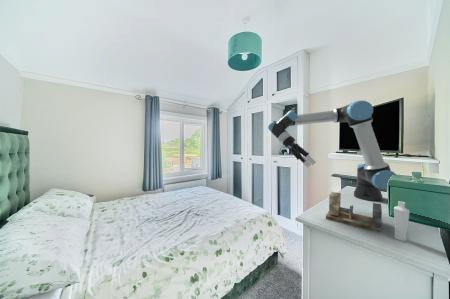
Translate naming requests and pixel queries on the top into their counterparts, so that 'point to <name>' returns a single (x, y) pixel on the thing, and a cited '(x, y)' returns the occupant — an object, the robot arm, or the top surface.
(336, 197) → the gauge plunger
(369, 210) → the top surface
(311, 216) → the top surface
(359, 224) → the base
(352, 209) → the peak needle
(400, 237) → the perfume bottle
